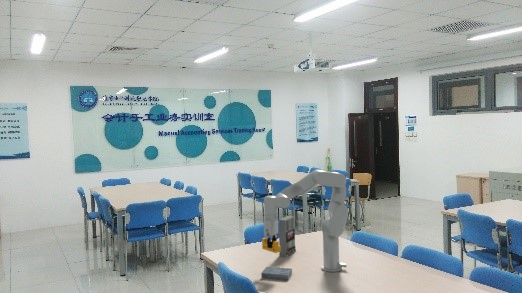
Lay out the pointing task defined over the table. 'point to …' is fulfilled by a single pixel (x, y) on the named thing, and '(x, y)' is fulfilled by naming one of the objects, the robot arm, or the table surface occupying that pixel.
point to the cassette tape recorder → (287, 235)
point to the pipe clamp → (272, 246)
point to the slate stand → (276, 273)
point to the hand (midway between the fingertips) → (272, 246)
